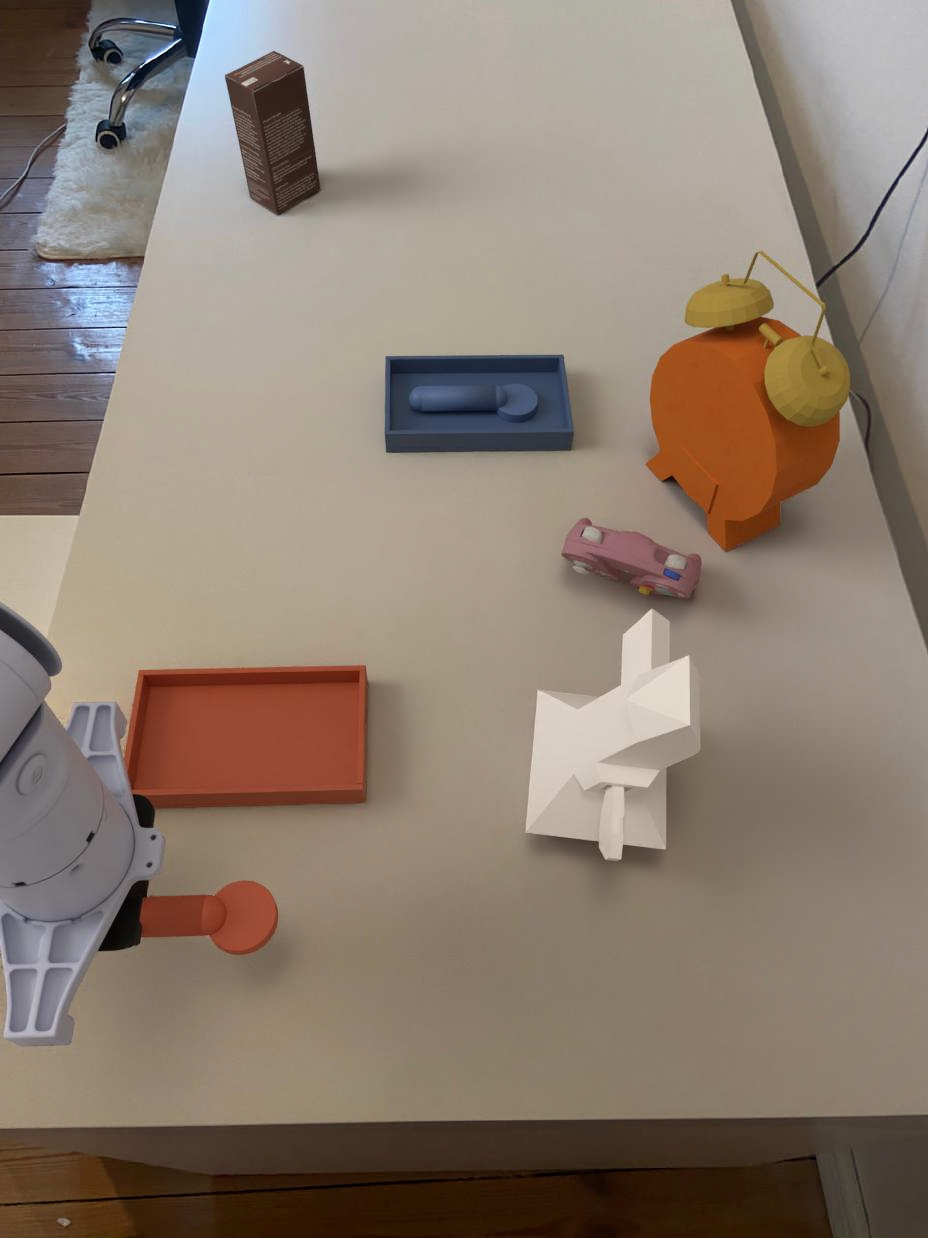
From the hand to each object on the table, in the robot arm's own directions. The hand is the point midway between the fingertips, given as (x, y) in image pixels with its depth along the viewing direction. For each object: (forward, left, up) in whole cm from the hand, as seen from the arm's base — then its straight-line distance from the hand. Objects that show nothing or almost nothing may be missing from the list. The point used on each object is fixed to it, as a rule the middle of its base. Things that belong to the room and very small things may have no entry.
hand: (124, 915), depth 48 cm
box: (-20, +70, -8) cm, 73 cm away
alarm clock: (+26, +44, -8) cm, 52 cm away
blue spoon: (+6, +47, -8) cm, 48 cm away
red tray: (0, +14, -8) cm, 16 cm away
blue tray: (+6, +47, -8) cm, 48 cm away
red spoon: (+2, +1, -1) cm, 3 cm away
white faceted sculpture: (+22, +17, -8) cm, 29 cm away
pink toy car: (+21, +34, -8) cm, 41 cm away
